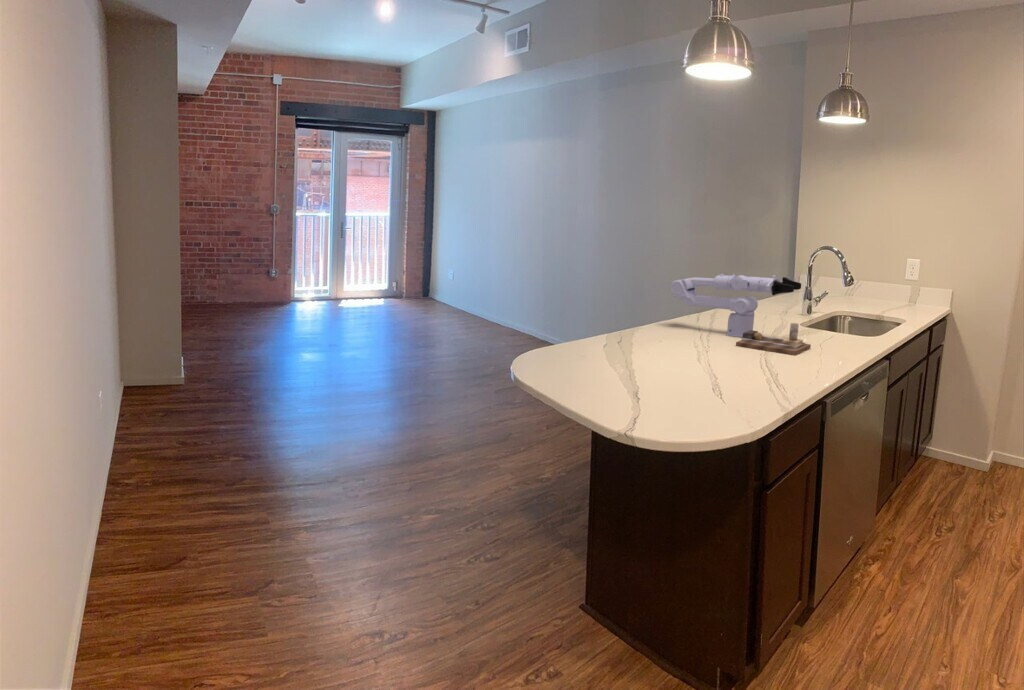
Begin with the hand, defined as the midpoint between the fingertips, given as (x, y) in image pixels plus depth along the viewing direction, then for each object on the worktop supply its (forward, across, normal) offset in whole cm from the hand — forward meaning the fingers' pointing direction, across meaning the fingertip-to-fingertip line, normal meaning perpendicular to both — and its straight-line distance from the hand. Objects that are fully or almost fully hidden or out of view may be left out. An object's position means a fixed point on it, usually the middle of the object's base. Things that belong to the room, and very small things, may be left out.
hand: (797, 287), depth 272 cm
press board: (-3, -14, +21) cm, 25 cm away
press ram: (+4, -13, +19) cm, 24 cm away
